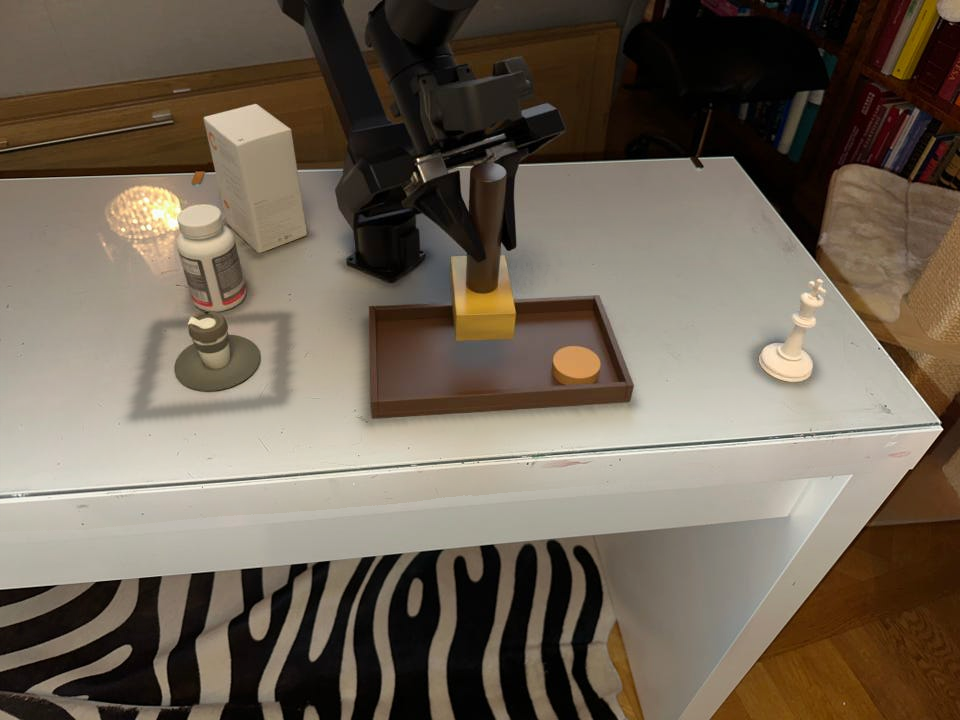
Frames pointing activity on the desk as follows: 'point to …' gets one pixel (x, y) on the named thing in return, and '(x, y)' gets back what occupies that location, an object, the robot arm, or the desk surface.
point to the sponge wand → (484, 265)
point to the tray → (489, 359)
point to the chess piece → (795, 341)
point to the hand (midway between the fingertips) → (497, 255)
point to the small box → (257, 176)
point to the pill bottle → (209, 259)
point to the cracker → (575, 366)
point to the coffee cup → (215, 355)
